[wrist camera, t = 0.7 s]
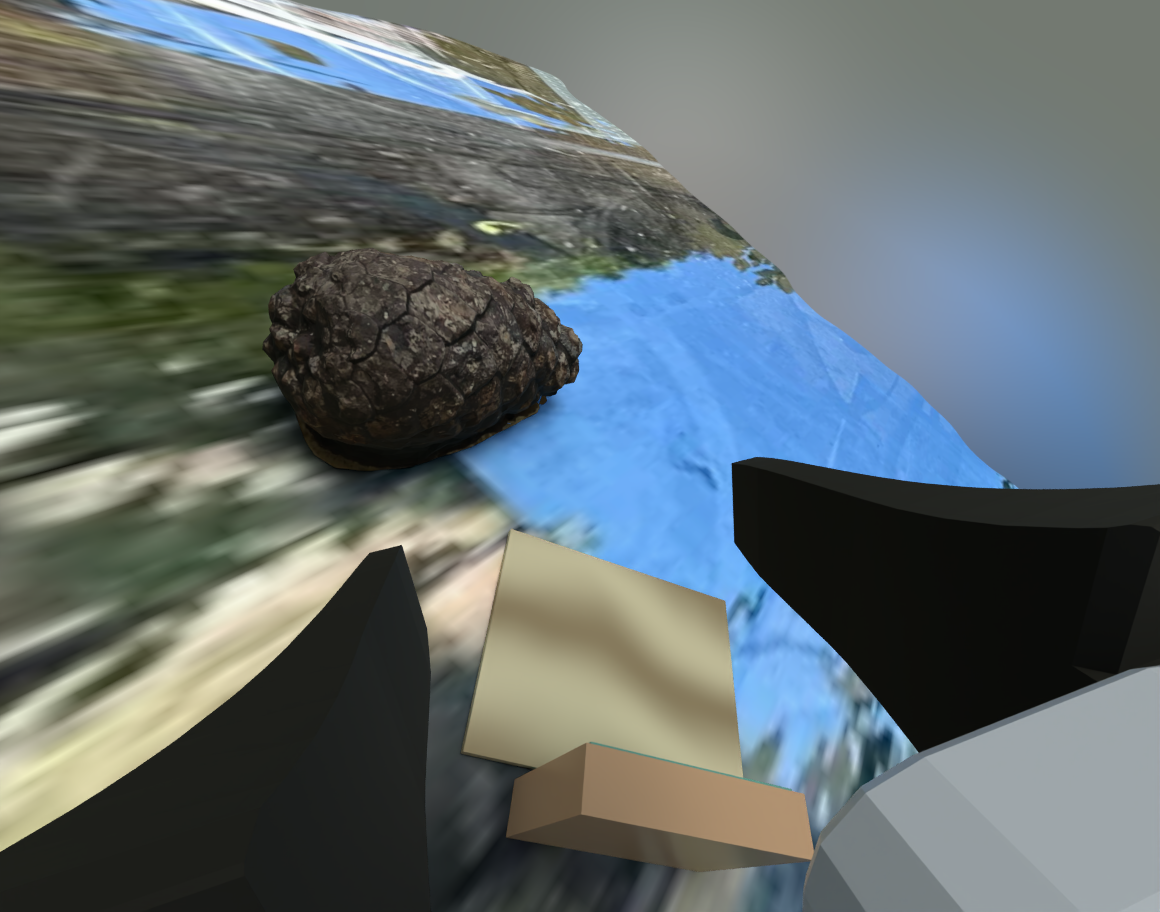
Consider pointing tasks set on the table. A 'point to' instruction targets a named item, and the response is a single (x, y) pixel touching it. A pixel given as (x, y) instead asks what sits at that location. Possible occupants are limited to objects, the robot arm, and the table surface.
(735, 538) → the robot arm
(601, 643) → the board
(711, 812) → the block
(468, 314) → the pine cone
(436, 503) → the table surface
